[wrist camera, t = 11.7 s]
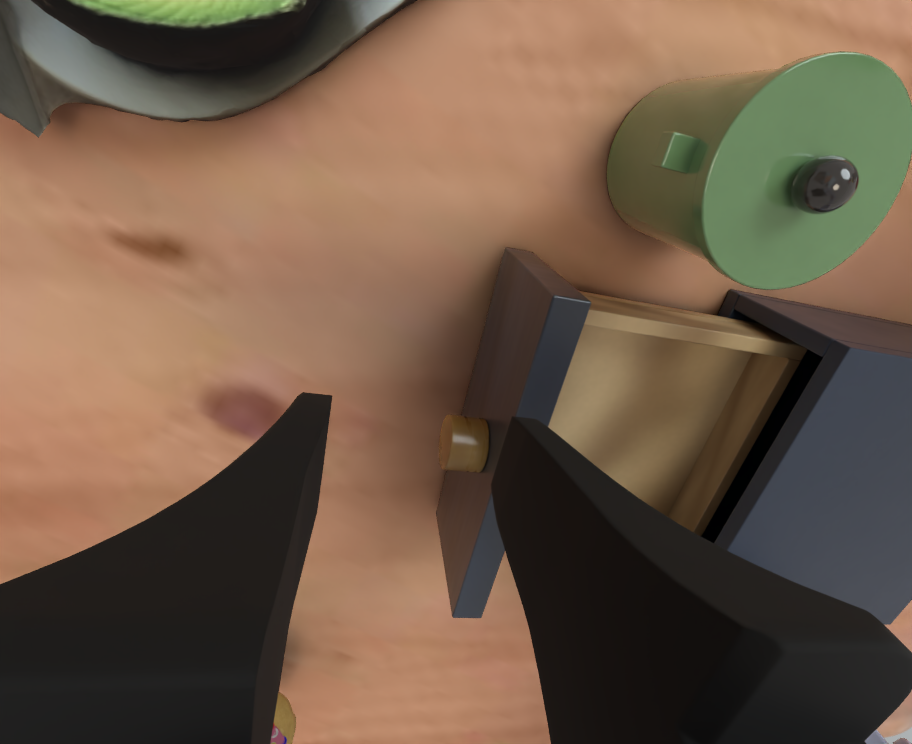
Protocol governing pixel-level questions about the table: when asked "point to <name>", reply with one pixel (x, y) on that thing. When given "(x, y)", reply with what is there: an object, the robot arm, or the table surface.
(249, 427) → the table surface
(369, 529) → the table surface
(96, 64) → the avocado toast plate
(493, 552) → the drawer
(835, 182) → the pot
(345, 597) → the table surface
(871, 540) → the cabinet
